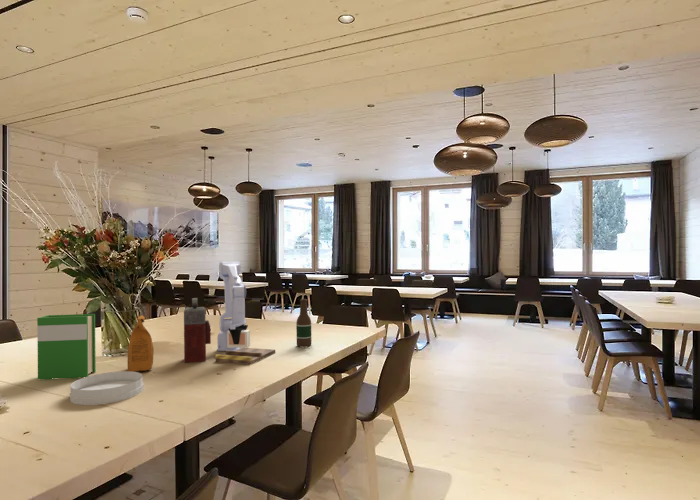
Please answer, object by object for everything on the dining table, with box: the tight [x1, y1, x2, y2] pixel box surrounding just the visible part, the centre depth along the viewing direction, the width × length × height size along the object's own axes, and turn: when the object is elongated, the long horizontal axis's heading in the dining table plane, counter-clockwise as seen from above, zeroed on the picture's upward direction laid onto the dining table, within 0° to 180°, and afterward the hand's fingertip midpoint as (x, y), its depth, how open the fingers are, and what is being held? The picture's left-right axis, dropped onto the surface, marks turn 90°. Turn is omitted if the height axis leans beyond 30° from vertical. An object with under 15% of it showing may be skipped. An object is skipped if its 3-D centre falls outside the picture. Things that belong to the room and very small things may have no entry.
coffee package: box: [127, 315, 155, 373], centre depth 177 cm, size 10×12×22 cm
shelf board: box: [214, 347, 276, 365], centre depth 196 cm, size 18×22×3 cm
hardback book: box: [36, 313, 97, 380], centre depth 169 cm, size 18×7×24 cm, turn 98°
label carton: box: [227, 329, 251, 348], centre depth 190 cm, size 9×5×7 cm, turn 86°
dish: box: [69, 370, 144, 406], centre depth 147 cm, size 22×22×5 cm
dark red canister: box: [183, 297, 212, 364], centre depth 192 cm, size 9×11×28 cm
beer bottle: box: [295, 298, 312, 348], centre depth 219 cm, size 8×8×24 cm
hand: (238, 342), depth 190 cm, fingers closed on label carton, 5 cm apart
